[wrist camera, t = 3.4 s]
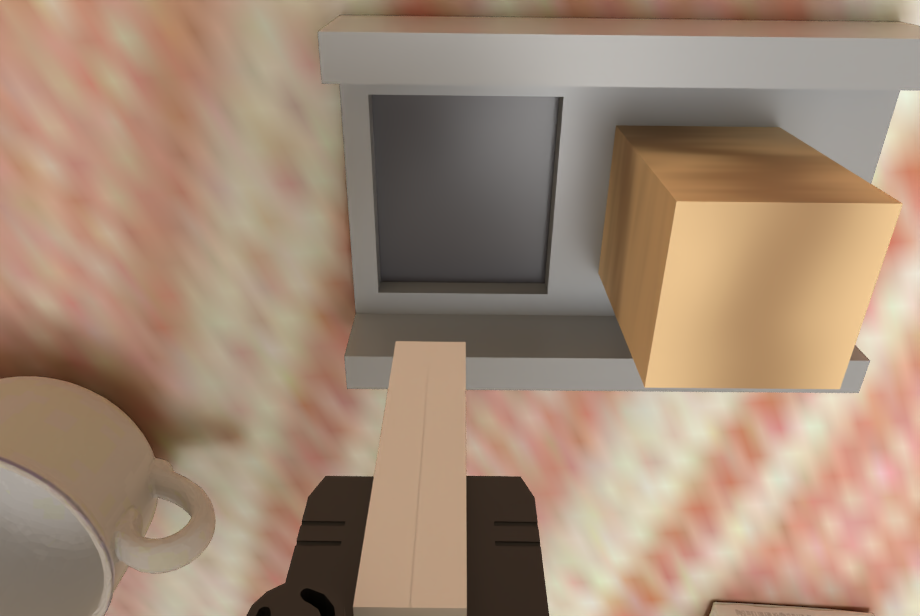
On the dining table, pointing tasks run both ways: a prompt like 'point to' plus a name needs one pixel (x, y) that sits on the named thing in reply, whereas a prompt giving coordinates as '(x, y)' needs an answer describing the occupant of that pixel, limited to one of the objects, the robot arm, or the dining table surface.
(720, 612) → the tea box
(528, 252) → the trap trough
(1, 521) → the teacup
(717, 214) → the wood block
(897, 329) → the dining table surface
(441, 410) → the robot arm
